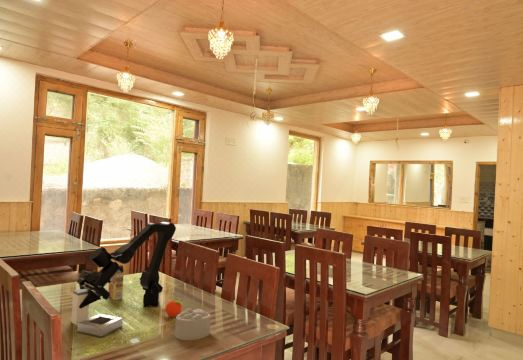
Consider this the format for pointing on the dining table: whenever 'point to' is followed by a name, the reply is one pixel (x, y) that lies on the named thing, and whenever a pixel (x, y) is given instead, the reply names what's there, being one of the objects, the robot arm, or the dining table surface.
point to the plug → (77, 312)
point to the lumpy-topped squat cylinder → (192, 324)
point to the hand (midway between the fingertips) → (77, 306)
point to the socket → (100, 325)
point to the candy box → (116, 285)
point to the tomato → (173, 308)
